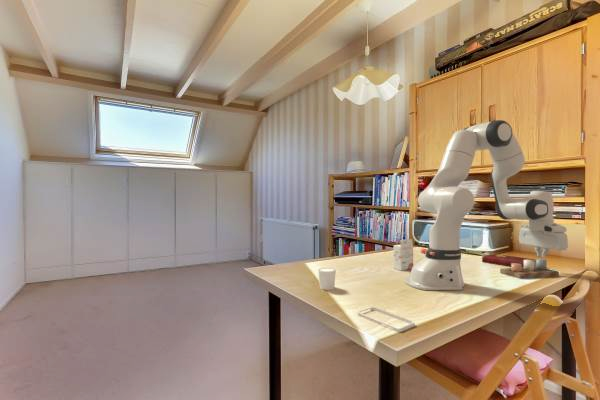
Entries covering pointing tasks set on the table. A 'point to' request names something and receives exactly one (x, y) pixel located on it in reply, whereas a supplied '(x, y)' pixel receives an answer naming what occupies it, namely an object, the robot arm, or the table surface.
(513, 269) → the terracotta button
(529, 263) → the cream button
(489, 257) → the hardcover book
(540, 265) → the slate-grey button
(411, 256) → the ink cartridge box
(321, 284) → the shot glass
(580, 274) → the table surface
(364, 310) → the beige elongated ring
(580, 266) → the table surface
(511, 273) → the button board
